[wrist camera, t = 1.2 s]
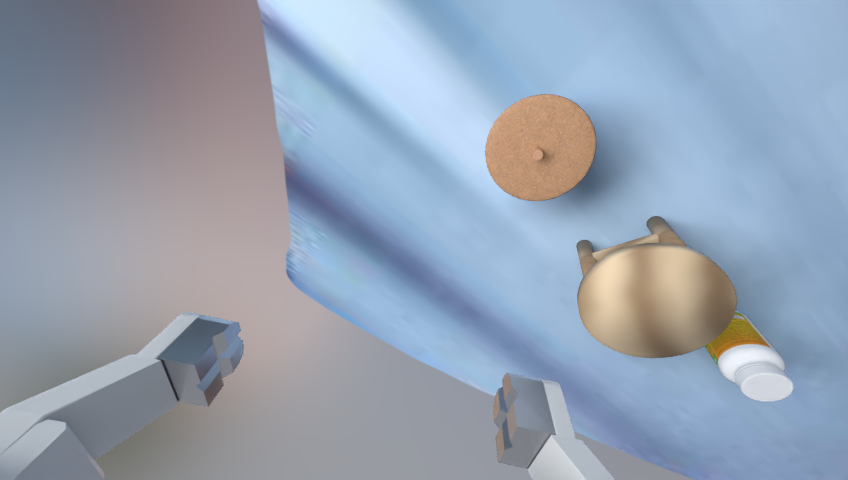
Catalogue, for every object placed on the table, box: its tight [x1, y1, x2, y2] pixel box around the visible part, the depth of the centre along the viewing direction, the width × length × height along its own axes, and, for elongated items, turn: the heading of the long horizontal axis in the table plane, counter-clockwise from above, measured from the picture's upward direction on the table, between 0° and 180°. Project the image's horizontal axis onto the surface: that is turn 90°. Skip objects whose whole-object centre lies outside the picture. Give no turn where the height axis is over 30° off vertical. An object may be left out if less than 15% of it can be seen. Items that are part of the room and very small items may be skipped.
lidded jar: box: [485, 94, 596, 201], centre depth 35 cm, size 11×11×9 cm
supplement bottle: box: [705, 310, 793, 402], centre depth 38 cm, size 6×6×10 cm
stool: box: [577, 216, 737, 358], centre depth 38 cm, size 14×14×10 cm
